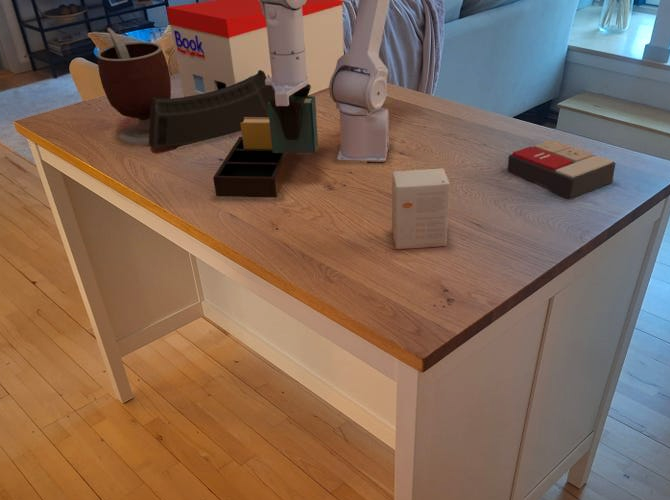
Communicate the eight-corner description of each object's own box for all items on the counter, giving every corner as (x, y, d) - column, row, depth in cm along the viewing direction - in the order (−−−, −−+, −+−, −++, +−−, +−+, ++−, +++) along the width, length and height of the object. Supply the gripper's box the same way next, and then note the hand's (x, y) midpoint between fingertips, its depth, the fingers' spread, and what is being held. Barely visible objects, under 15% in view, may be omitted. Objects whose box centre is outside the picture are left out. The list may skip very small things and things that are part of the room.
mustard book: (284, 158, 129) (280, 117, 124) (281, 164, 127) (276, 123, 121) (249, 157, 130) (244, 117, 125) (245, 163, 127) (240, 122, 122)
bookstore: (183, 103, 158) (165, 7, 144) (288, 67, 177) (281, -21, 163) (239, 122, 146) (225, 19, 133) (345, 81, 165) (342, -13, 152)
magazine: (132, 113, 127) (260, 38, 132) (127, 108, 129) (253, 35, 135) (174, 185, 140) (289, 114, 145) (168, 180, 142) (282, 110, 147)
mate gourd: (192, 134, 142) (173, 34, 129) (133, 152, 136) (107, 48, 123) (159, 116, 152) (139, 21, 139) (103, 132, 145) (76, 34, 133)
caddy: (296, 156, 130) (294, 137, 128) (277, 199, 116) (274, 178, 114) (242, 156, 132) (239, 136, 129) (216, 198, 118) (212, 177, 115)
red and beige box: (551, 136, 123) (617, 158, 112) (548, 159, 125) (613, 182, 115) (508, 151, 119) (572, 175, 108) (505, 174, 121) (568, 199, 111)
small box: (441, 229, 105) (445, 167, 99) (446, 247, 101) (451, 183, 94) (391, 232, 105) (391, 170, 99) (394, 250, 101) (395, 186, 94)
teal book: (318, 145, 116) (315, 96, 110) (315, 153, 113) (311, 103, 108) (276, 145, 117) (271, 96, 111) (272, 152, 114) (267, 103, 108)
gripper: (271, 38, 110) (279, 119, 119) (252, 64, 99) (262, 150, 108) (313, 37, 109) (318, 119, 118) (297, 63, 98) (304, 151, 107)
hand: (294, 134), depth 113 cm, fingers closed on teal book, 3 cm apart
